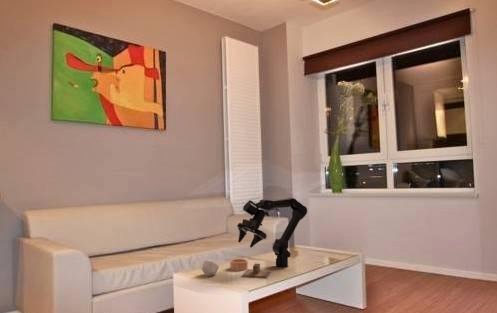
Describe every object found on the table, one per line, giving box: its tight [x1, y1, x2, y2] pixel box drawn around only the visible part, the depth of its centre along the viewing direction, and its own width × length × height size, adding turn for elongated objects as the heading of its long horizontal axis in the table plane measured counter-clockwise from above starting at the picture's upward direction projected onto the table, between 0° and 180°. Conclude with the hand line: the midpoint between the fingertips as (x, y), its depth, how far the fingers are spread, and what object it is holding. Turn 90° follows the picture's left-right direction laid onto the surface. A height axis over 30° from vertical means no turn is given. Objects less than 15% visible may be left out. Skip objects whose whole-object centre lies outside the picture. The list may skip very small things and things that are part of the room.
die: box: [201, 259, 220, 277], centre depth 194 cm, size 8×9×10 cm
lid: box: [242, 263, 271, 279], centre depth 194 cm, size 12×12×5 cm
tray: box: [240, 271, 272, 280], centre depth 194 cm, size 14×14×1 cm
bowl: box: [229, 258, 249, 272], centre depth 206 cm, size 10×10×5 cm
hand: (244, 244), depth 202 cm, fingers open, 9 cm apart
